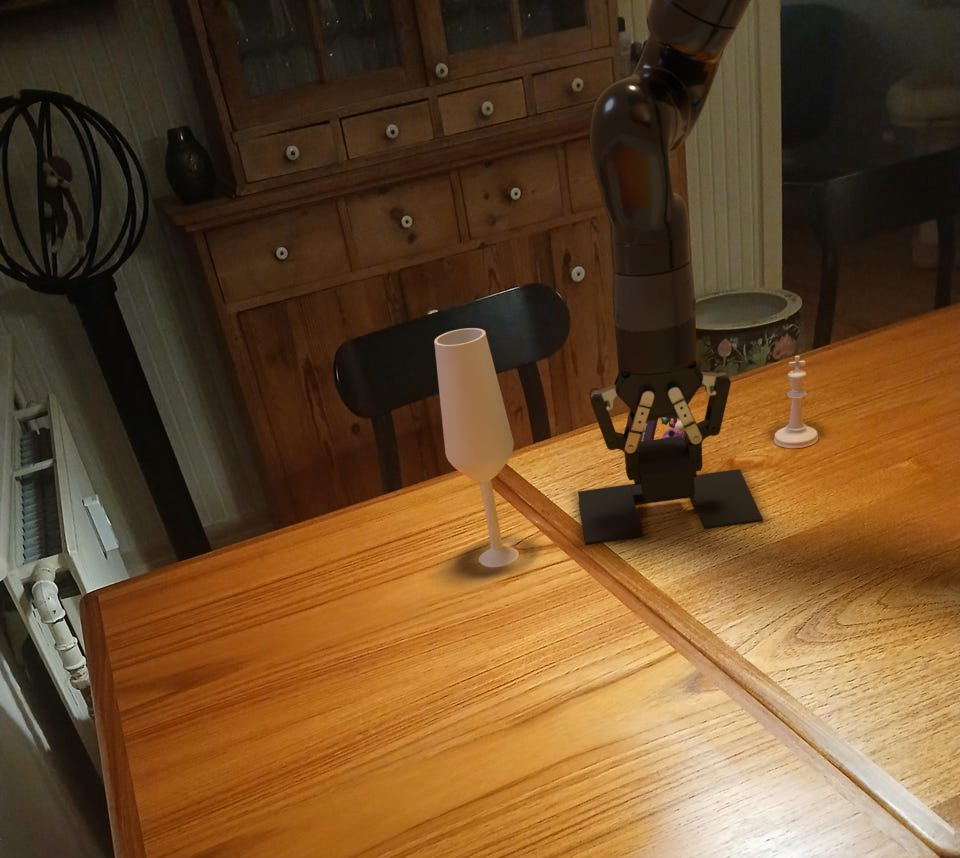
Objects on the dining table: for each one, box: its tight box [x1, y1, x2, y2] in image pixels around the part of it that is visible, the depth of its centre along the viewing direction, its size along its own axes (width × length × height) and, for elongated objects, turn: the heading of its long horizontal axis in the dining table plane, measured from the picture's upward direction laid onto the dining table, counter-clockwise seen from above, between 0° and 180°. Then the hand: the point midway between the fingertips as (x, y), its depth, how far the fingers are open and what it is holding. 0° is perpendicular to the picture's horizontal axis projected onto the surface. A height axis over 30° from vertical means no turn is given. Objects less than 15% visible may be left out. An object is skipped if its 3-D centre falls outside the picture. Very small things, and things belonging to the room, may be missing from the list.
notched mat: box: [577, 468, 764, 546], centre depth 105 cm, size 18×12×1 cm, turn 89°
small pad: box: [638, 436, 695, 501], centre depth 101 cm, size 5×8×3 cm, turn 178°
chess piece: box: [773, 355, 819, 449], centre depth 113 cm, size 5×5×10 cm
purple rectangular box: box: [639, 415, 687, 446], centre depth 115 cm, size 7×5×9 cm
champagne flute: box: [433, 327, 520, 568], centre depth 96 cm, size 7×7×24 cm
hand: (664, 477), depth 102 cm, fingers closed on small pad, 5 cm apart
